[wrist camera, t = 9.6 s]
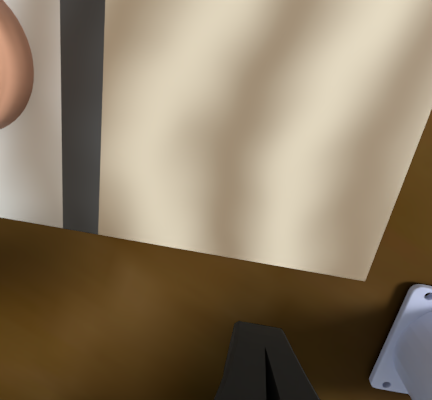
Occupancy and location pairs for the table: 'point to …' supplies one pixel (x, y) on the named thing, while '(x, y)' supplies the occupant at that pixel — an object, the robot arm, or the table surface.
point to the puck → (13, 67)
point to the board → (222, 124)
